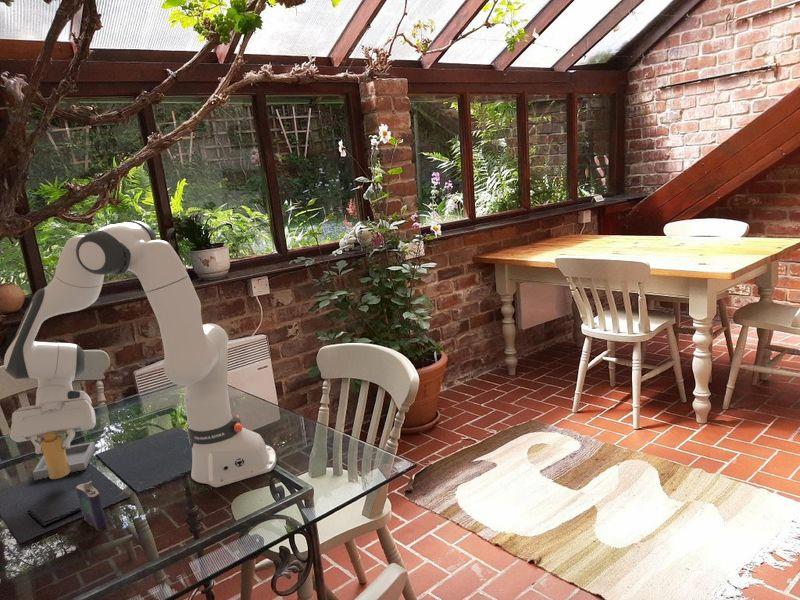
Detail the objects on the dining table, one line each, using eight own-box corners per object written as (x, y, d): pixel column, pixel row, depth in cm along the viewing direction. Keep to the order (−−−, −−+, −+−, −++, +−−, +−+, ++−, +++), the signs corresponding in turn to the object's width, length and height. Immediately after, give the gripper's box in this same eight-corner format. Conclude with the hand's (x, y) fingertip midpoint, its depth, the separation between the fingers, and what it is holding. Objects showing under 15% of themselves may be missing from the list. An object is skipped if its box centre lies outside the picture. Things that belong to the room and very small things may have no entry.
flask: (81, 519, 146) (72, 479, 143) (93, 513, 148) (84, 474, 145) (99, 532, 140) (89, 491, 138) (111, 525, 142) (102, 485, 140)
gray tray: (95, 449, 181) (94, 441, 181) (85, 470, 169) (83, 462, 168) (48, 457, 178) (46, 450, 178) (34, 480, 166) (32, 472, 165)
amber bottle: (72, 467, 164) (62, 427, 161) (67, 476, 159) (57, 436, 156) (52, 471, 163) (41, 431, 160) (46, 480, 158) (35, 439, 155)
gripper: (7, 404, 160) (3, 455, 154) (90, 390, 165) (90, 438, 158) (17, 413, 166) (14, 462, 159) (97, 399, 170) (97, 446, 163)
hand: (52, 450), depth 159 cm, fingers closed on amber bottle, 5 cm apart
